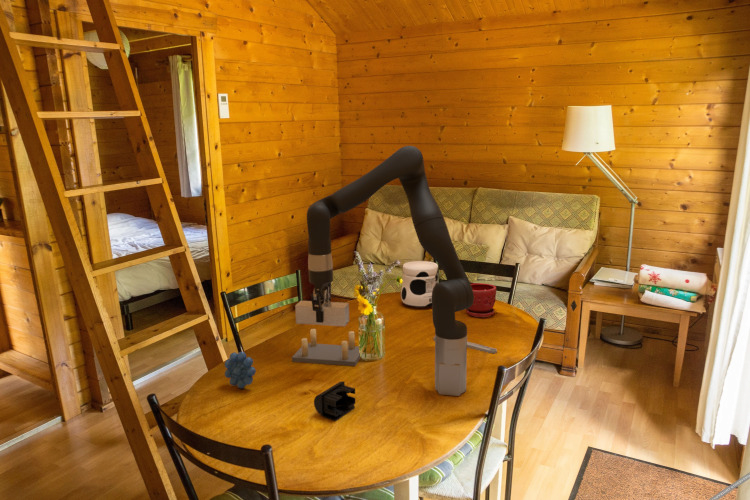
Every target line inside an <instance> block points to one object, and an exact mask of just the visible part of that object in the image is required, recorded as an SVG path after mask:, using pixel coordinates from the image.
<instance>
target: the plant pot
mask: <svg viewBox="0 0 750 500" xmlns="http://www.w3.org/2000/svg"><path fill="white" fill-rule="evenodd" d="M470 284H471V287H472V290H473V294H474V301H473V304H472V306H471V307H470V308H468V309H465V313H466V314H467V315H469V316H471V317H475V318H488V317H489V318H490V317H491V316H492V315H494V314H495V312H496V311H495V309H494V306H495V303H496V296H497V286H495V285H494V284H490V283H485V282H484V283H480V282H478V283H470Z"/></svg>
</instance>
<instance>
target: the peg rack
mask: <svg viewBox="0 0 750 500" xmlns="http://www.w3.org/2000/svg"><path fill="white" fill-rule="evenodd" d="M309 333H310V336H309V337H310V342H308V338H307V337H303V338H300V339H301V347H300V348H299V349H298V350H297V351H296V352H295V354H293V356H292V357H291V362H294V363H307V364H318V365H320V364H321V365H333V366H335V365H336V366H349V367H356V366H357V365H358V362H359V361H360V359H361V358H360V353H359V347H360V346H357V345H356V344H355V340H356V339H355V331H354V330H353V331H352V330H350V331H348V340H342V341H341V345H339V344H327V343H326V344H325V343H317V329H316V328H311V329H310V330H309ZM355 345H356V346H355Z"/></svg>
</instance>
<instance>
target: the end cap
mask: <svg viewBox="0 0 750 500" xmlns="http://www.w3.org/2000/svg"><path fill="white" fill-rule="evenodd" d="M348 394H352V395H353V394H354V395H355V394H356V388H355V387H351V386H348V385H346V382H345V381H338V382H337V383H336V384H333V385H332V386H330V387H329V388H327V389H325V390H324V391H322V392H320V393H318V394H317V395H316V396H315V397H314V399H313V405H314V409H315V411H316V412H317V413H318V415H320V416H322V417H323V418H324V419H328V420H329V421H333V422H337V421H339V419H341V418H343V417H344V416H345V415H347V414H349V413H350V412H352V411H353V410H354V409H355V408H356V407H355V404H356V397H354V396H351V395H348Z"/></svg>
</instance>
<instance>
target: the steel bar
mask: <svg viewBox="0 0 750 500" xmlns="http://www.w3.org/2000/svg"><path fill="white" fill-rule="evenodd" d="M317 307H319V306H317ZM294 308H295V309H294V310H295V324H297V325H315V326H316V325H318V326H331V327H346V326H347V325H348V323H349V322H350V303H349V302H338V301H337V302H335V301H329V302H325V304H324V306H323V319H324V321H323V322H322V323H318V322H316V311H313V307H312V300H300V301H298V302H297V303H296V304H295V307H294Z"/></svg>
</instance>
